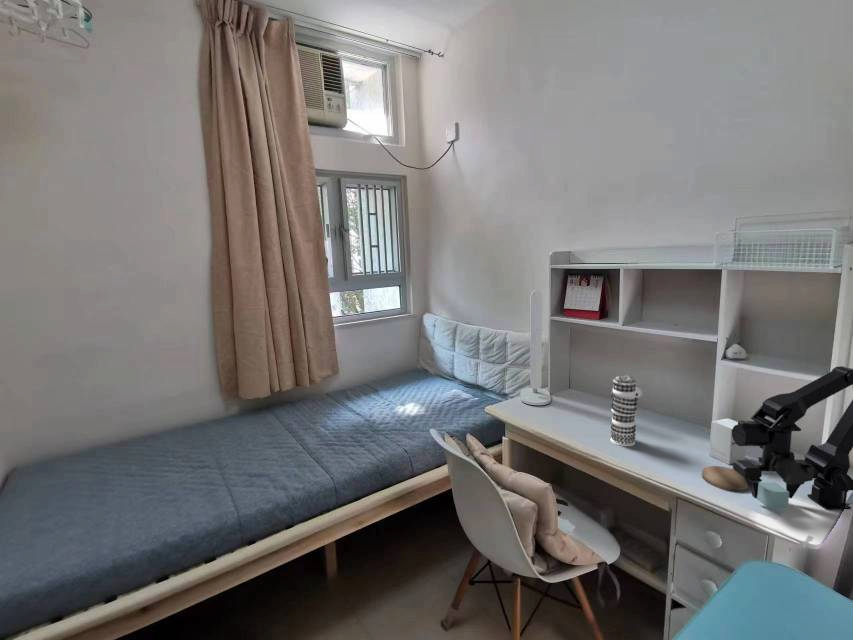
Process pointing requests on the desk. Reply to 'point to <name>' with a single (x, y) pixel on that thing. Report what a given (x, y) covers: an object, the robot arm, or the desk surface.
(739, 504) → the desk surface
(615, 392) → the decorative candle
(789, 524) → the desk surface
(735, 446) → the supplement box
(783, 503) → the teal block
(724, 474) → the walnut base
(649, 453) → the desk surface
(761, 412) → the robot arm
